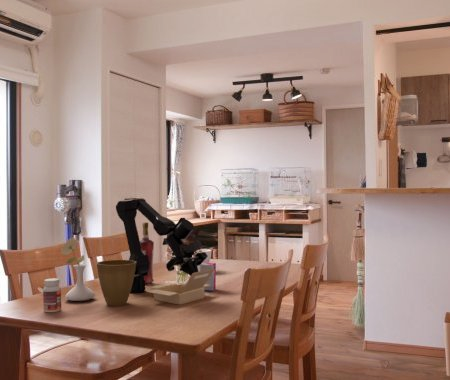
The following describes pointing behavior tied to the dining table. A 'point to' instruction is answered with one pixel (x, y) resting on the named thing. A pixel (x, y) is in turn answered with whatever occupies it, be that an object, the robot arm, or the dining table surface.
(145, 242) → the liquor
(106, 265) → the plant pot
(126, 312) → the dining table surface
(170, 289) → the carton
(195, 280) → the flap
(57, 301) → the pill bottle
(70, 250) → the flower in vase
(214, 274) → the supplement box
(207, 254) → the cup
